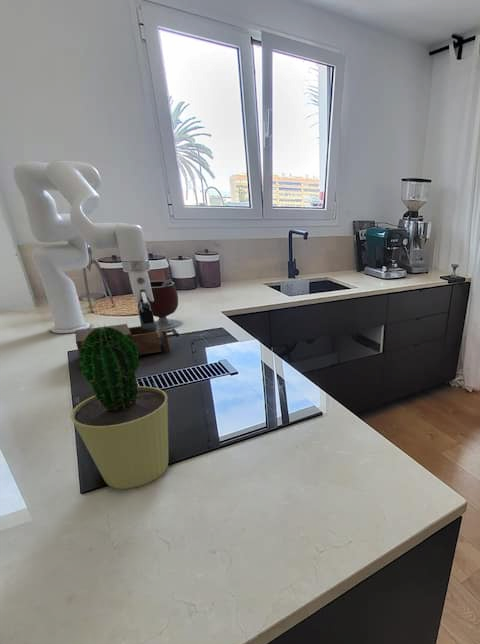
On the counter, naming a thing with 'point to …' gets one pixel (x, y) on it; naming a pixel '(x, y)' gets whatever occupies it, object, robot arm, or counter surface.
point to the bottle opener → (147, 326)
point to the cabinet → (84, 332)
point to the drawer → (151, 339)
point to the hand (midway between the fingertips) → (146, 319)
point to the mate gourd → (164, 302)
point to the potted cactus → (121, 413)
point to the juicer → (100, 273)
